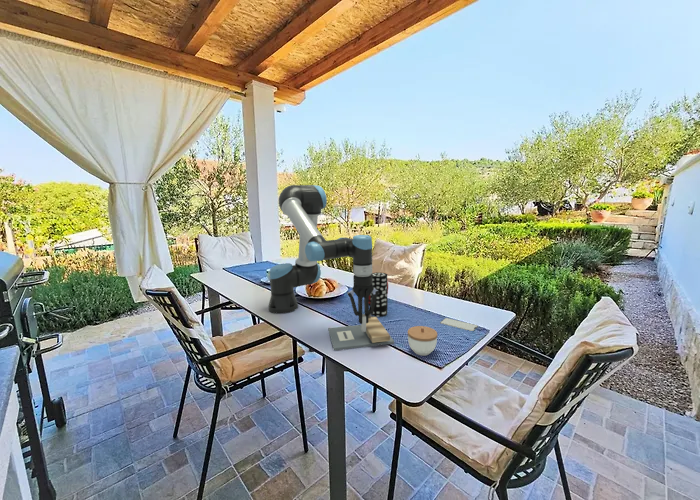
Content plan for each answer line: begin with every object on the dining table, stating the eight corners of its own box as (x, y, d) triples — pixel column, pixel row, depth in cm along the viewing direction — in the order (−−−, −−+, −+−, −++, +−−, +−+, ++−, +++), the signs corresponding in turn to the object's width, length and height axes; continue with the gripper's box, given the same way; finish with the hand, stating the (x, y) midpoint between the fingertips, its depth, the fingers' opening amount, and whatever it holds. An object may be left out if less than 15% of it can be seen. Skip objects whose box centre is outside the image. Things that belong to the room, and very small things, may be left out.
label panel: (328, 329, 130) (328, 325, 129) (380, 324, 134) (380, 320, 134) (334, 350, 112) (333, 345, 111) (394, 343, 116) (394, 338, 116)
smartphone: (445, 317, 140) (478, 325, 130) (445, 318, 140) (478, 326, 130) (439, 322, 134) (473, 331, 125) (439, 324, 134) (473, 332, 125)
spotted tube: (386, 317, 142) (386, 277, 138) (369, 316, 144) (369, 276, 140) (387, 310, 150) (388, 272, 146) (371, 309, 152) (371, 272, 148)
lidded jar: (404, 345, 115) (404, 322, 113) (430, 343, 116) (431, 321, 114) (412, 360, 104) (412, 335, 103) (441, 358, 105) (442, 333, 103)
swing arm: (359, 320, 133) (359, 313, 132) (374, 318, 134) (374, 312, 134) (372, 342, 112) (372, 334, 111) (389, 340, 113) (390, 332, 113)
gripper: (348, 278, 111) (349, 336, 115) (381, 275, 114) (381, 332, 118) (345, 273, 119) (346, 328, 123) (376, 271, 121) (376, 325, 125)
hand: (363, 330), depth 120 cm, fingers closed
